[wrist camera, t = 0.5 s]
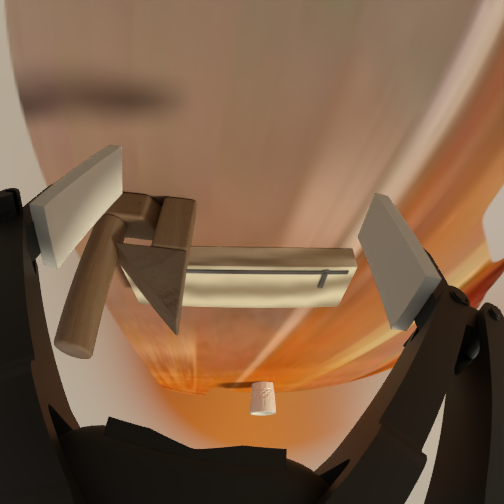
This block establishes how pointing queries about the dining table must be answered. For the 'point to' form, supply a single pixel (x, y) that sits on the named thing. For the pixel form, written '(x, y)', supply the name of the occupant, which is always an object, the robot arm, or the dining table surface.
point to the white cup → (262, 399)
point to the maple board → (265, 277)
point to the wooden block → (129, 266)
